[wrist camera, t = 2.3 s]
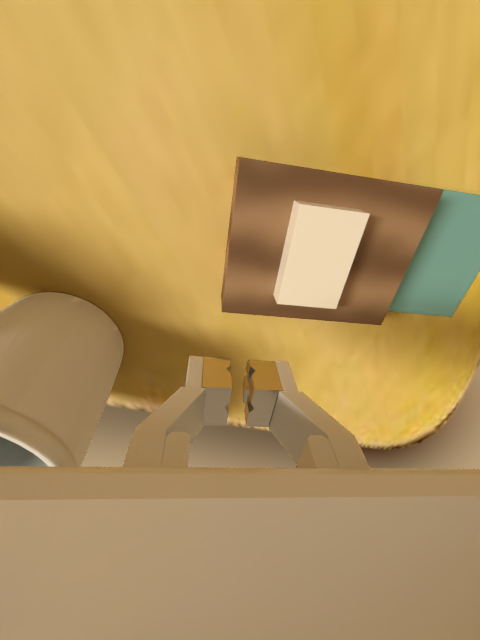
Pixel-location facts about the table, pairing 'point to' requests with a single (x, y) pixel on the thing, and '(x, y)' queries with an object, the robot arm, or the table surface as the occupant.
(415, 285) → the mat
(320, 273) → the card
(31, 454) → the utensil holder
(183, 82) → the table surface
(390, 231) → the deck
